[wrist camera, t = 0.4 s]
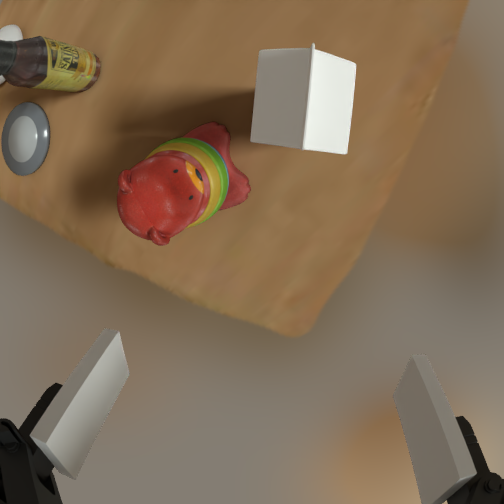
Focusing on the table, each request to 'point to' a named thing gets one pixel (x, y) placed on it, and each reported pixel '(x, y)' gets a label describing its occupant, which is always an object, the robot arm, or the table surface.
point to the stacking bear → (181, 184)
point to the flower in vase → (10, 37)
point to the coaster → (26, 138)
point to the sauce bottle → (48, 65)
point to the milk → (303, 100)
